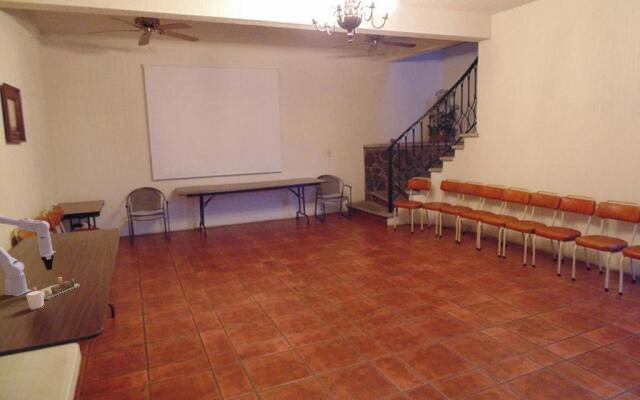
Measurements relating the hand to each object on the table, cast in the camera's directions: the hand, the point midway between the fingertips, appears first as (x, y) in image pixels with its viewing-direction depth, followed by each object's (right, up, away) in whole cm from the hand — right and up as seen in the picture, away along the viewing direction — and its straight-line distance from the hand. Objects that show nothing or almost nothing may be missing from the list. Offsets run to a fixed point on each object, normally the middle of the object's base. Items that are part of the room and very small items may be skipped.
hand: (49, 269), depth 231 cm
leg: (+11, -9, -6) cm, 15 cm away
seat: (+6, -10, -4) cm, 13 cm away
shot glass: (+9, -14, -24) cm, 29 cm away
